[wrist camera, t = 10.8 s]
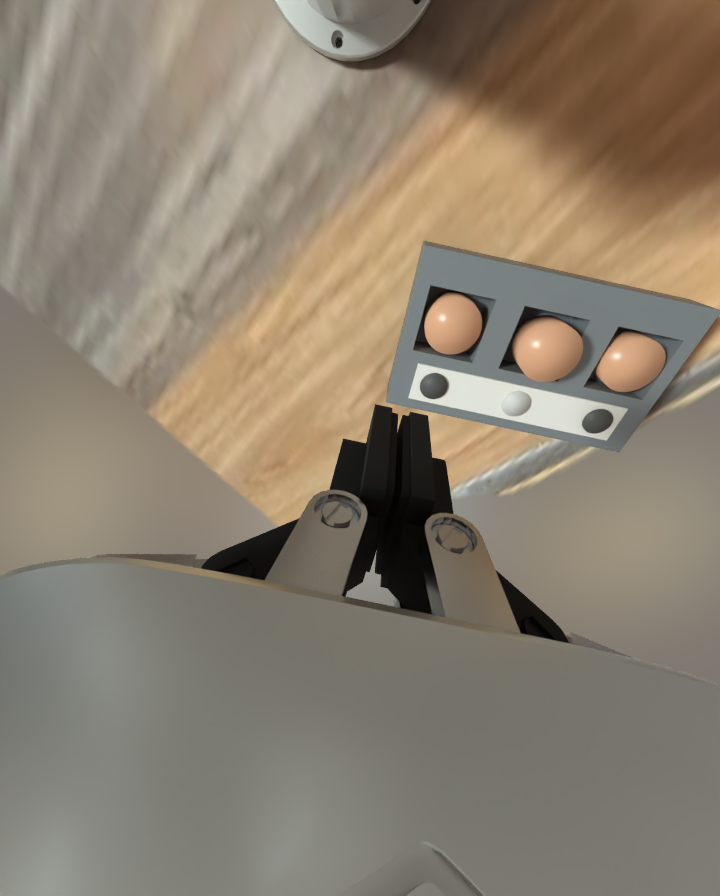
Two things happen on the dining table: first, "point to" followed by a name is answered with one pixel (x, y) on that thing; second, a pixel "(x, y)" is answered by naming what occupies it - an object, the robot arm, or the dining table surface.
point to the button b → (546, 348)
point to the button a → (452, 322)
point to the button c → (630, 361)
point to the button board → (497, 373)
